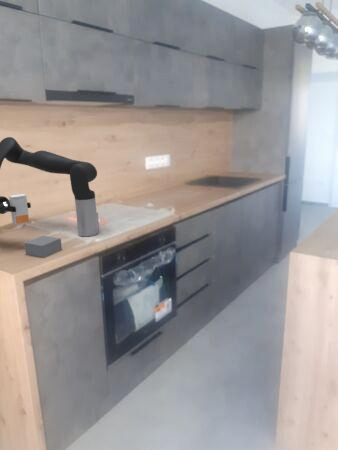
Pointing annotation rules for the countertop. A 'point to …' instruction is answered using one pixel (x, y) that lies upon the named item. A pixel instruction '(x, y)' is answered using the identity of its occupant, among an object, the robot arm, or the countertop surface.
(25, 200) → the skincare box
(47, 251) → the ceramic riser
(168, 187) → the countertop surface
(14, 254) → the countertop surface
